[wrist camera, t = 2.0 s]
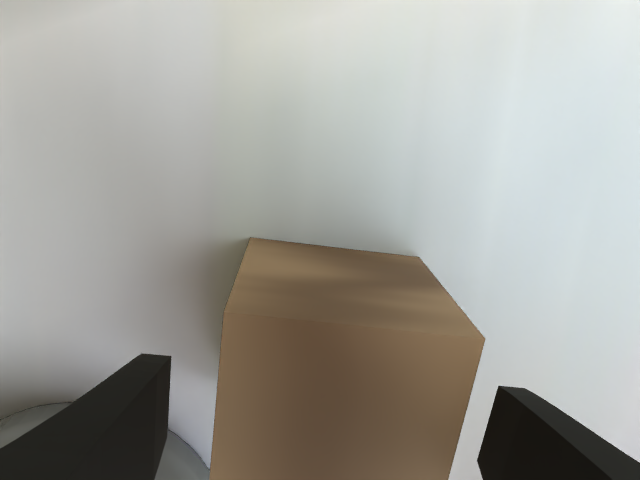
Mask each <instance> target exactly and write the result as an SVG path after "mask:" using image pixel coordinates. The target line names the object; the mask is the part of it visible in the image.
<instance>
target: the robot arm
mask: <svg viewBox="0 0 640 480" xmlns="http://www.w3.org/2000/svg"><path fill="white" fill-rule="evenodd" d="M170 371H171V356H163V355H152V354H140V355H139V356H137V357H136V358H135V359H133V360H132V361H130V362H129V363H128V364H126V365H125V366H123V367H122V368H121V369H119V370H118V371H117V372H115V373H114V374H112V375H111V376H110V377H108V378H107V379H106V380H104V381H103V382H101V383H100V384H99V385H97V386H96V387H95V388H93V389H92V390H90V391H89V392H87V393H86V394H85V395H83V396H82V397H80V398H79V399H77V400H76V401H75V402H73V403H72V404H70V405H69V406H67V407H66V408H64V409H63V410H61V411H60V412H58V413H56V414H55V415H53V416H52V417H50V418H49V419H47V420H45V421H44V422H42V423H41V424H39V425H38V426H36V427H35V428H33V429H31V430H30V431H28V432H27V433H25V434H24V435H22V436H20V437H19V438H17V439H16V440H14V441H12V442H10V443H9V444H7V445H5V446H4V447H2V448H0V480H154V479H155V476H156V473H157V470H158V467H159V463H160V460H161V457H162V453H163V450H164V446H165V443H166V440H167V431H168V411H169V391H170ZM477 462H478V465H479V468H480V471H481V475H482V478H483V480H640V463H639V462H638V461H636V460H634V459H633V458H631V457H630V456H628V455H627V454H625V453H624V452H622V451H621V450H619V449H618V448H616V447H615V446H613V445H612V444H610V443H609V442H607V441H606V440H604V439H603V438H601V437H600V436H598V435H597V434H595V433H594V432H592V431H591V430H589V429H588V428H586V427H585V426H583V425H582V424H580V423H579V422H577V421H576V420H575V419H573V418H572V417H570V416H569V415H567V414H566V413H564V412H563V411H561V410H560V409H558V408H557V407H555V406H553V405H552V404H550V403H549V402H547V401H546V400H544V399H542V398H541V397H539V396H538V395H536V394H534V393H532V392H530V391H529V390H527V389H525V388H516V387H505V386H498V389H497V393H496V396H495V400H494V403H493V407H492V410H491V414H490V417H489V421H488V424H487V428H486V431H485V435H484V438H483V442H482V445H481V449H480V452H479V456H478V459H477Z"/></svg>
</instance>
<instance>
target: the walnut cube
mask: <svg viewBox="0 0 640 480" xmlns="http://www.w3.org/2000/svg"><path fill="white" fill-rule="evenodd" d="M484 342H485V338H484V337H483V335H482V334H481V333H480V332H479V330H478V329H477V328H476V327H475V326H474V324H473V323H472V322H471V321H470V319H469V318H468V317H467V316H466V314H465V313H464V312H463V311H462V309H461V308H460V307H459V306H458V305H457V303H456V302H455V301H454V300H453V298H452V297H451V296H450V295H449V293H448V292H447V291H446V290H445V288H444V287H443V286H442V285H441V284H440V282H439V281H438V280H437V279H436V277H435V276H434V275H433V274H432V272H431V271H430V270H429V269H428V267H427V266H426V265H425V264H424V263H423V261H422V260H421V259H420V258H419V257H413V256H404V255H396V254H387V253H378V252H370V251H361V250H353V249H344V248H336V247H327V246H319V245H310V244H302V243H293V242H285V241H276V240H268V239H259V238H250V240H249V243H248V246H247V248H246V251H245V254H244V257H243V259H242V262H241V265H240V268H239V271H238V273H237V276H236V279H235V282H234V285H233V287H232V290H231V293H230V296H229V298H228V301H227V304H226V307H225V310H224V314H223V326H222V337H221V349H220V361H219V372H218V384H217V396H216V407H215V419H214V431H213V442H212V454H211V466H210V478H209V480H448V478H449V474H450V470H451V466H452V463H453V459H454V455H455V451H456V448H457V444H458V440H459V436H460V433H461V429H462V425H463V421H464V417H465V414H466V410H467V406H468V402H469V399H470V395H471V391H472V387H473V383H474V380H475V376H476V372H477V368H478V365H479V361H480V357H481V353H482V350H483V346H484Z"/></svg>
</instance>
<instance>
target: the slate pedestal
mask: <svg viewBox="0 0 640 480" xmlns="http://www.w3.org/2000/svg"><path fill="white" fill-rule="evenodd" d="M70 404H72V403H59V404H49V405H44V406H39V407H34V408H30V409H27V410H24V411H21V412H18V413H15V414H13V415H11V416H9V417H6V418H4V419H2V420H0V448H2V447H4V446H5V445H7V444H9V443H10V442H12V441H14V440H16V439H17V438H19V437H20V436H22V435H24V434H25V433H27V432H28V431H30V430H31V429H33V428H35V427H36V426H38V425H39V424H41V423H42V422H44V421H45V420H47V419H49V418H50V417H52V416H53V415H55V414H56V413H58V412H60V411H61V410H63V409H64V408H66V407H67V406H69V405H70ZM209 478H210V471H209V469H208V468H207V466H206V465H205V464H204V462H203V461H202V459H201V458H200V457H199V456H198V455H197V454H196V453H195V451H194V450H193V449H192V448H191V447H190V446H189V445H188V444H186V443H185V442H184V441H183V440H182V439H180V438H179V437H178V436H177V435H176V434H174V433H172V432H171V431H169V430H168V431H167V440H166V443H165V446H164V450H163V453H162V457H161V460H160V463H159V467H158V470H157V473H156V476H155V479H154V480H209Z"/></svg>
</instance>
